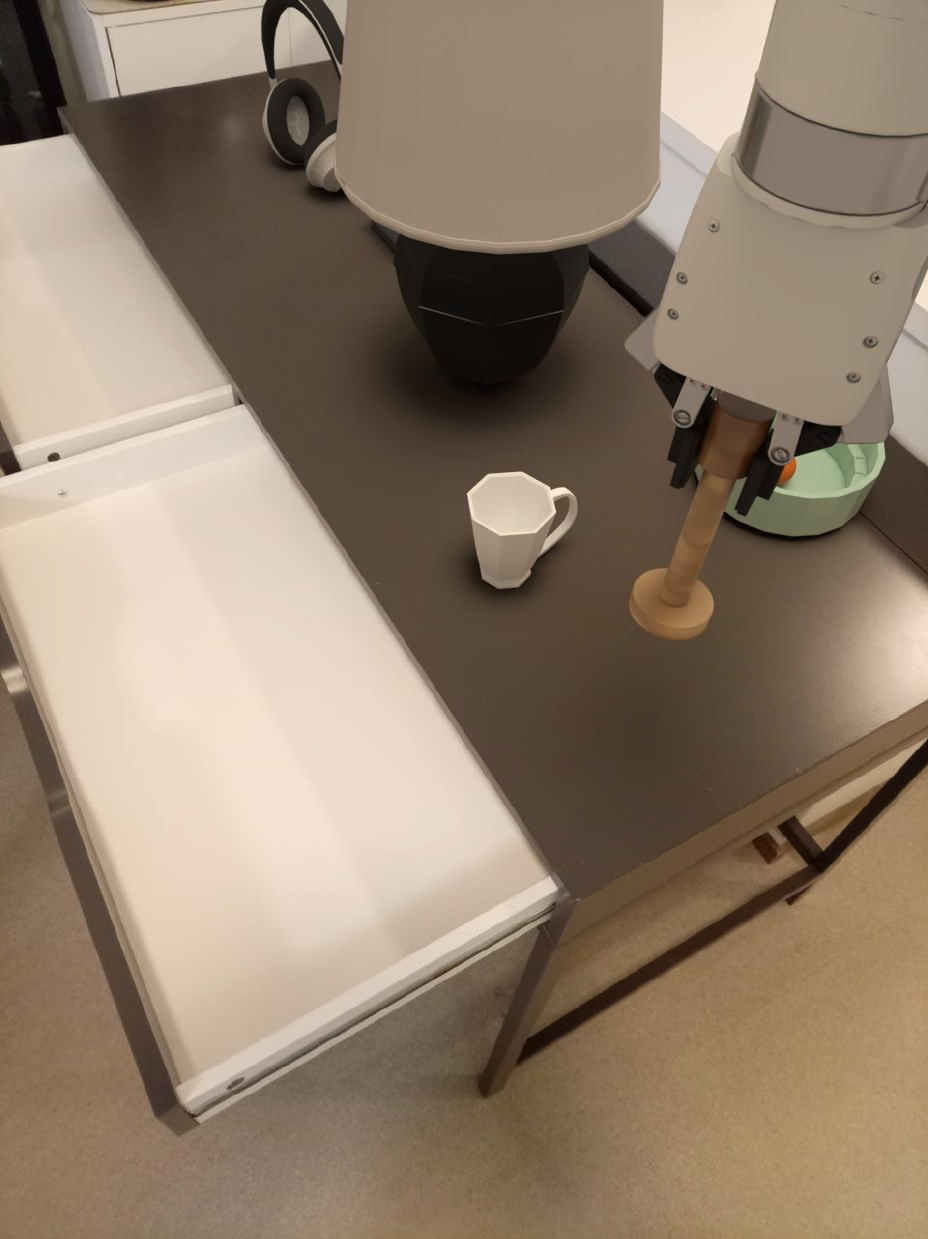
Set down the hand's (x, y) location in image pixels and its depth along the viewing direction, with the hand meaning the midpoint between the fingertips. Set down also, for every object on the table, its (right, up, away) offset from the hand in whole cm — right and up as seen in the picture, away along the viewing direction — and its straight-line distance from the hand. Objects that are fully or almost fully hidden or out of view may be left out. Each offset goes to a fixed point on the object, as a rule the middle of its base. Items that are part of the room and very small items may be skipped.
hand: (717, 483), depth 48 cm
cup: (-9, -3, +27) cm, 28 cm away
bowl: (+15, +5, +33) cm, 37 cm away
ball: (+14, +6, +31) cm, 35 cm away
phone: (-16, +39, +57) cm, 71 cm away
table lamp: (-12, +18, +42) cm, 47 cm away
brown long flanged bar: (-1, -7, +7) cm, 10 cm away
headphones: (-32, +48, +63) cm, 86 cm away
